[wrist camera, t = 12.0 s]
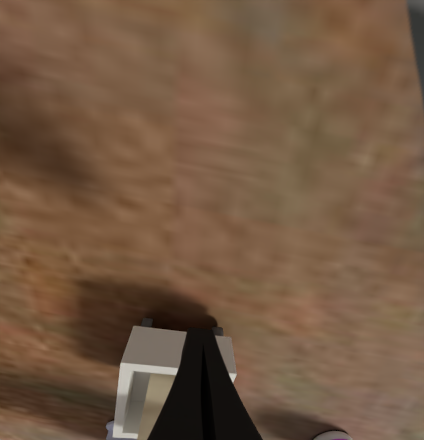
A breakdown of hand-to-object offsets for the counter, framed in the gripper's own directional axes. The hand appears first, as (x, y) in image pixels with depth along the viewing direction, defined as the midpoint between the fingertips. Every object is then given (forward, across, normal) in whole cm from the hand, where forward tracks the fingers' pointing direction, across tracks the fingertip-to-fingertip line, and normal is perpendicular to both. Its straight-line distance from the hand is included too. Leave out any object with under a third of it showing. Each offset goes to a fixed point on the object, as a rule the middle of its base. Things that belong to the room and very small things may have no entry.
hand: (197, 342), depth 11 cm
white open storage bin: (+8, 0, +12) cm, 14 cm away
